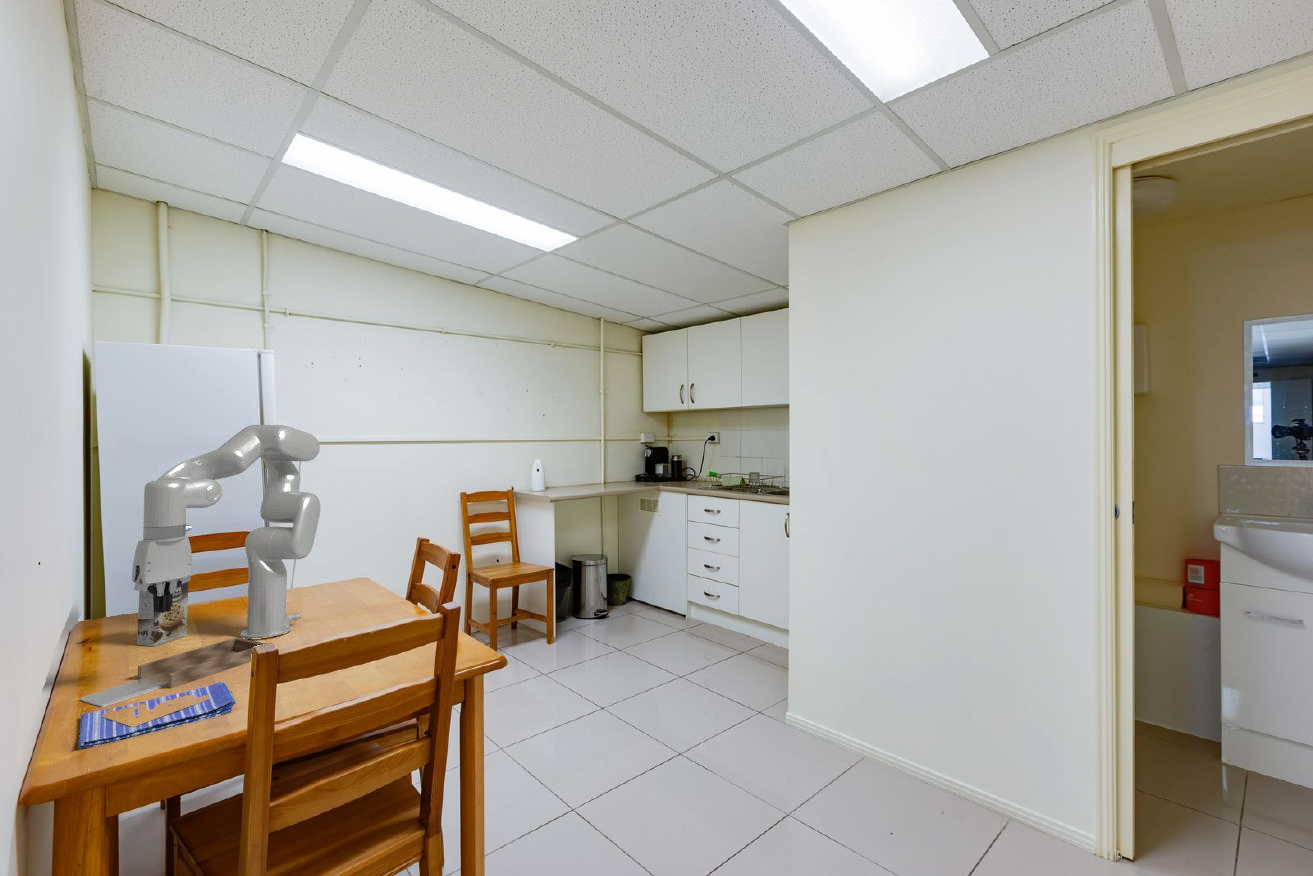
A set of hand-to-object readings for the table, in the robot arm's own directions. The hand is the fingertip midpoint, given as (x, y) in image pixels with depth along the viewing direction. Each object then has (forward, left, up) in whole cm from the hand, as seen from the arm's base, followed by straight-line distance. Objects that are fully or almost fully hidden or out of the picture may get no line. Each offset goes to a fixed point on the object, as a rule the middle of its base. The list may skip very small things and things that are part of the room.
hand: (162, 611), depth 132 cm
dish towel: (+9, +17, -18) cm, 26 cm away
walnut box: (-10, 0, -17) cm, 20 cm away
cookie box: (-18, -34, -17) cm, 42 cm away
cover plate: (+7, 0, -18) cm, 19 cm away
